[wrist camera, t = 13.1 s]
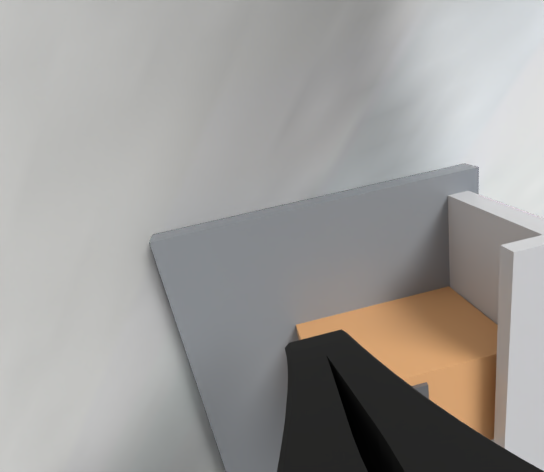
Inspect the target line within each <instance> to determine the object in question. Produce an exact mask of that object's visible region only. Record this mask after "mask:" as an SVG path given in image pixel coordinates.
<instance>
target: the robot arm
mask: <svg viewBox="0 0 544 472" xmlns="http://www.w3.org/2000/svg"><path fill="white" fill-rule="evenodd" d="M285 352H286V356H287V365H288V390H287V402H286V414H285V423H284V431H283V437H282V443H281V450H280V456H279V462H278V468H277V472H544V471H543V470H541V469H539V468H537V467H536V466H534V465H532V464H530V463H529V462H527V461H525V460H523V459H521V458H520V457H518V456H516V455H515V454H513V453H511V452H510V451H508V450H506V449H505V448H503V447H501V446H500V445H498V444H496V443H495V442H493V441H491V440H490V439H488V438H486V437H485V436H483V435H482V434H480V433H478V432H477V431H475V430H474V429H472V428H471V427H469V426H468V425H466V424H465V423H463V422H461V421H460V420H458V419H457V418H456V417H454V416H453V415H451V414H450V413H448V412H447V411H445V410H444V409H442V408H441V407H439V406H438V405H437V404H435V403H434V402H432V401H431V400H430V399H428V398H427V397H425V396H424V395H423V394H421V393H420V392H418V391H417V390H416V389H415V388H413V387H412V386H411V385H409V384H408V383H407V382H405V381H404V380H403V379H401V378H400V377H399V376H397V375H396V374H395V373H394V372H392V371H391V370H390V369H389V368H387V367H386V366H385V365H384V364H382V363H381V362H380V361H379V360H378V359H376V358H375V357H374V356H373V355H372V354H370V353H369V352H368V351H367V350H366V349H364V348H363V347H362V346H361V345H360V344H359V343H358V342H357V341H355V340H354V339H353V338H352V337H351V336H350V335H349V334H348V333H347V332H345V331H343V330H342V329H341V330H337V331H333V332H329V333H325V334H321V335H317V336H313V337H310V338H306V339H302V340H298V341H294V342H290V343H288V345H287V346H286V347H285Z"/></svg>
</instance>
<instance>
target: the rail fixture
mask: <svg viewBox="0 0 544 472" xmlns="http://www.w3.org/2000/svg"><path fill="white" fill-rule="evenodd" d="M478 183H479V167H476V166H473V165H469V164H461V165H456V166H452V167H448V168H443V169H439V170H434V171H430V172H426V173H421V174H417V175H412V176H408V177H404V178H399V179H395V180H391V181H386V182H382V183H377V184H373V185H369V186H364V187H360V188H355V189H351V190H347V191H342V192H338V193H334V194H329V195H325V196H320V197H316V198H312V199H307V200H303V201H298V202H294V203H290V204H285V205H281V206H277V207H272V208H268V209H263V210H259V211H255V212H250V213H246V214H241V215H237V216H233V217H228V218H224V219H220V220H215V221H211V222H206V223H202V224H198V225H193V226H189V227H184V228H180V229H176V230H171V231H167V232H163V233H158V234H154V235H152V237H151V240H150V242H149V243H150V246H151V249H152V252H153V255H154V258H155V261H156V264H157V267H158V270H159V273H160V276H161V279H162V282H163V285H164V288H165V291H166V294H167V297H168V300H169V303H170V306H171V309H172V312H173V315H174V318H175V321H176V324H177V327H178V330H179V333H180V336H181V339H182V342H183V345H184V348H185V351H186V354H187V357H188V360H189V363H190V366H191V369H192V372H193V375H194V378H195V381H196V384H197V387H198V390H199V393H200V396H201V399H202V402H203V405H204V408H205V411H206V414H207V417H208V420H209V423H210V425H211V428H212V431H213V434H214V437H215V440H216V443H217V446H218V449H219V452H220V455H221V458H222V461H223V464H224V467H225V470H226V472H277V468H278V462H279V456H280V450H281V443H282V437H283V431H284V423H285V414H286V402H287V390H288V365H287V356H286V352H285V347H286V346H287V345H288V343H290V342H294V341H298V340H299V339H298V334H297V329H296V325H297V324H301V323H305V322H309V321H313V320H317V319H321V318H325V317H329V316H333V315H337V314H341V313H345V312H349V311H352V310H356V309H360V308H364V307H368V306H372V305H376V304H380V303H384V302H388V301H392V300H396V299H400V298H404V297H408V296H412V295H416V294H420V293H424V292H428V291H432V290H436V289H440V288H444V287H448V286H449V287H450V288H452V289H453V290H454V291H455V292H457V293H458V294H459V295H460V296H462V297H463V298H464V299H465V300H467V301H468V302H469V303H471V304H472V305H473V306H474V307H476V308H477V309H478V310H479V311H481V312H482V313H483V314H484V315H486V316H487V317H488V318H489V319H491V320H492V321H493V322H494V323H496V324H497V325H498V330H497V361H496V392H495V423H494V439H492V440H491V441H493V442H495V443H496V444H498V445H500V446H501V447H503V448H505V449H506V450H508V451H510V452H511V453H513V454H515V455H516V456H518V457H520V458H521V459H523V460H525V461H527V462H529V463H530V464H532V465H534V466H536V467H537V468H539V469H541V470H543V471H544V218H542V217H540V216H537V215H534V214H531V213H529V212H526V211H523V210H520V209H518V208H515V207H512V206H509V205H507V204H504V203H501V202H498V201H496V200H493V199H490V198H487V197H485V196H482V195H479V194H478Z"/></svg>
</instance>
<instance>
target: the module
mask: <svg viewBox="0 0 544 472" xmlns="http://www.w3.org/2000/svg"><path fill="white" fill-rule="evenodd" d="M296 329H297V334H298V339H299V340H302V339H306V338H310V337H313V336H317V335H321V334H325V333H329V332H333V331H337V330H341V329H342V330H343V331H345V332H347V333H348V334H349V335H350V336H351V337H352V338H353V339H354V340H355V341H357V342H358V343H359V344H360V345H361V346H362V347H363V348H364V349H366V350H367V351H368V352H369V353H370V354H372V355H373V356H374V357H375V358H376V359H378V360H379V361H380V362H381V363H382V364H384V365H385V366H386V367H387V368H389V369H390V370H391V371H392V372H394V373H395V374H396V375H397V376H399V377H400V378H401V379H403V380H404V381H405V382H407V383H408V384H409V385H411V386H412V387H413V388H415V389H416V390H417V391H418V392H420V393H421V394H423V395H424V396H425V397H427V398H428V399H430V400H431V401H432V402H434V403H435V404H437V405H438V406H439V407H441V408H442V409H444V410H445V411H447V412H448V413H450V414H451V415H453V416H454V417H456V418H457V419H458V420H460V421H461V422H463V423H465V424H466V425H468V426H469V427H471V428H472V429H474V430H475V431H477V432H478V433H480V434H482V435H483V436H485V437H486V438H488V439H490V440H492V439H494V423H495V392H496V361H497V330H498V325H497V324H496V323H494V322H493V321H492V320H491V319H489V318H488V317H487V316H486V315H484V314H483V313H482V312H481V311H479V310H478V309H477V308H476V307H474V306H473V305H472V304H471V303H469V302H468V301H467V300H465V299H464V298H463V297H462V296H460V295H459V294H458V293H457V292H455V291H454V290H453V289H452V288H450V287H449V286H448V287H444V288H440V289H436V290H432V291H428V292H424V293H420V294H416V295H412V296H408V297H404V298H400V299H396V300H392V301H388V302H384V303H380V304H376V305H372V306H368V307H364V308H360V309H356V310H352V311H349V312H345V313H341V314H337V315H333V316H329V317H325V318H321V319H317V320H313V321H309V322H305V323H301V324H297V325H296Z"/></svg>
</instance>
